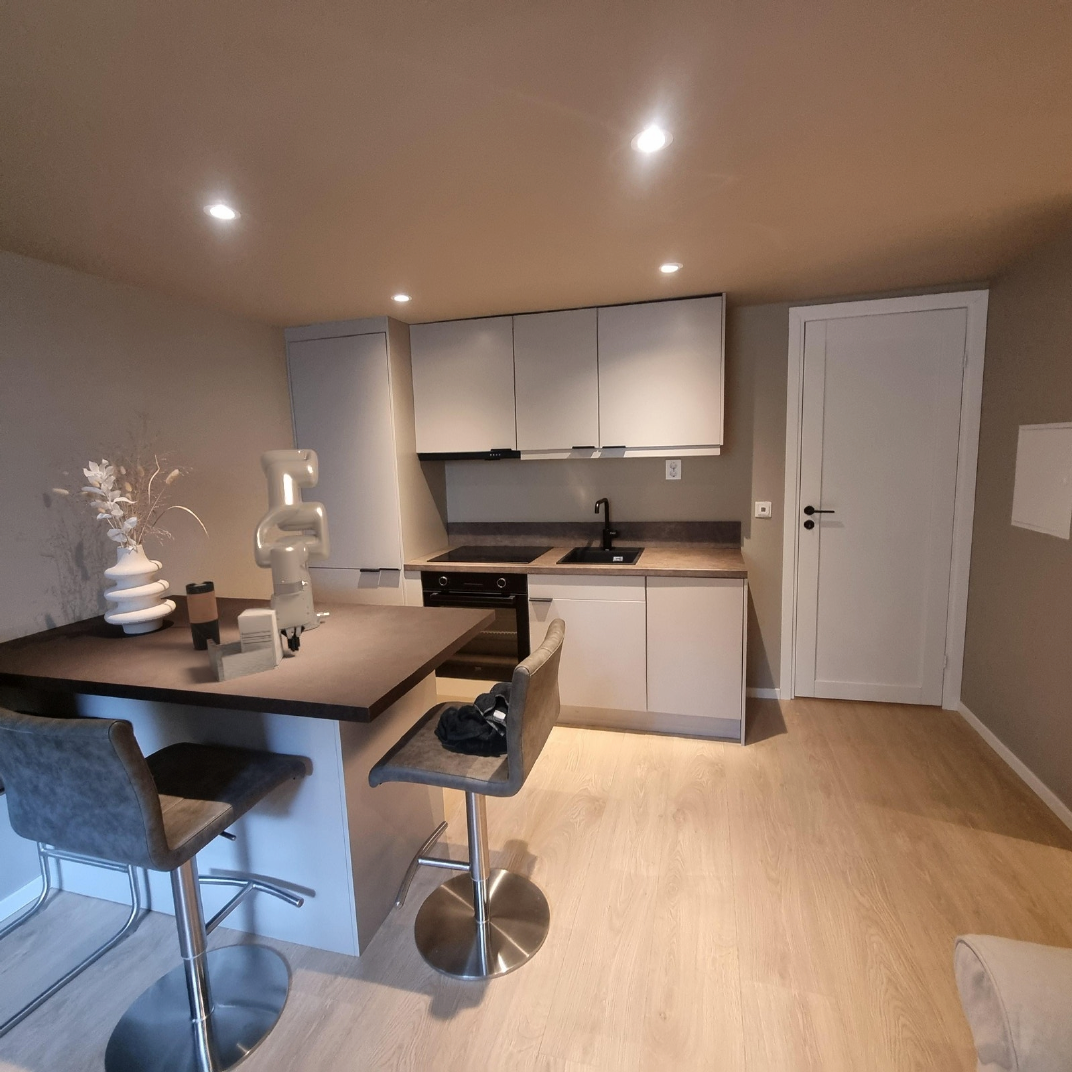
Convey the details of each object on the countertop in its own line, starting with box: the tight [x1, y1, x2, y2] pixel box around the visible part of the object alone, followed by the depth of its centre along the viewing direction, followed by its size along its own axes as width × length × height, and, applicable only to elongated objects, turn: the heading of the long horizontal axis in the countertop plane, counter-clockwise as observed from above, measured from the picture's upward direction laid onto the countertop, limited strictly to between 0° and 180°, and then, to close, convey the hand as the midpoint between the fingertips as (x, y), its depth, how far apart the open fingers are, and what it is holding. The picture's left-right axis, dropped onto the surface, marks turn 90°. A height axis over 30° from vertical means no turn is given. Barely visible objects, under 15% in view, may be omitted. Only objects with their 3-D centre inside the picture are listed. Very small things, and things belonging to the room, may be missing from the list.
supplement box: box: [237, 606, 285, 667], centre depth 158 cm, size 9×9×15 cm
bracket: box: [207, 639, 275, 683], centre depth 155 cm, size 13×14×8 cm
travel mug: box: [185, 581, 221, 651], centre depth 175 cm, size 8×8×20 cm
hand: (294, 650), depth 163 cm, fingers closed
